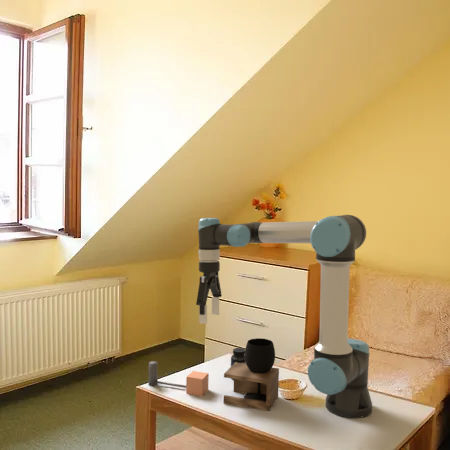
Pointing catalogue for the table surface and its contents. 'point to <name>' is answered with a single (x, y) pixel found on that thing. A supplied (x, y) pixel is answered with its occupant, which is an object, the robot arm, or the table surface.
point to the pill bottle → (238, 356)
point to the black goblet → (259, 361)
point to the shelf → (253, 386)
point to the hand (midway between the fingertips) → (209, 318)
